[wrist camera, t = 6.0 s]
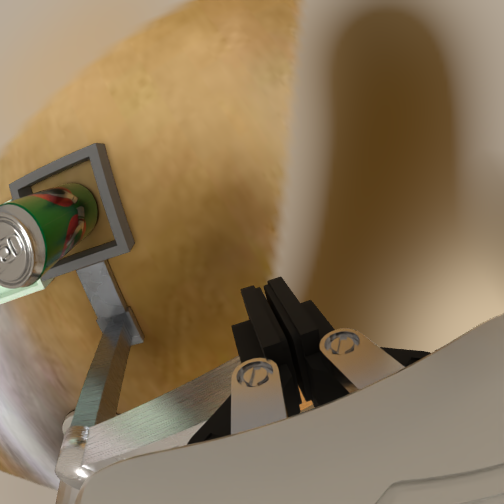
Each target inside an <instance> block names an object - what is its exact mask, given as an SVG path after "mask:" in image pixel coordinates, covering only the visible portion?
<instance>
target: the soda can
mask: <svg viewBox="0 0 504 504" xmlns="http://www.w3.org/2000/svg"><path fill="white" fill-rule="evenodd" d="M97 213H98V212H97V205H96V201H95V199H94V197H93V195H92V194H91V192H90V191H89V190H88V189H87V188H85V187H84V186H82V185H80V184H76V183H67V184H64V185H60V186H57V187H53V188H50V189H47V190H43V191H40V192H37V193H34V194H31V195H28V196H24V197H21V198H18V199H16V200H13V201H10V202H7V203H4V204H1V205H0V286H2V287H5V288H9V289H15V288H19V287H28V286H30V285H33V284H34V283H35V282H37V281H38V280H39V279H40V278H41V277H42V276H43V275H44V274H45V273H46V272H47V271H48V270H49V269H50V268H51V267H52V266H54V265H55V264H56V263H57V262H58V261H59V260H60V259H61V258H62V257H63V256H64V255H66V254H67V253H68V252H69V251H70V250H71V249H72V248H73V247H75V246H76V245H77V244H78V243H79V242H80V241H81V240H83V239H84V238H85V237H86V236H87V235H88V234H89V233H90V232H91V231H92V230H93V228H94V226H95V224H96V220H97Z"/></svg>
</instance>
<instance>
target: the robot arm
mask: <svg viewBox="0 0 504 504" xmlns="http://www.w3.org/2000/svg"><path fill="white" fill-rule="evenodd" d="M240 290H241V293H242V297H243V300H244V303H245V307H246V310H247V313H248V316H249V320H248V321H245V322H242V323H238V324H235V325H232V330H233V334H234V338H235V342H236V346H237V350H238V354H239V357H240V361H241V364H240V365H239V366H238V367H237V368H236V369H235V370H234V372H233V373H232V378H231V395H230V396H229V397H228V398H227V399H226V400H225V402H224V403H223V404H222V405H221V406H220V407H219V408H218V409H217V410H216V412H215V413H214V414H213V415H212V416H211V417H210V418H209V419H208V420H207V421H206V422H205V424H204V425H203V426H202V427H201V428H200V429H199V430H198V431H197V432H196V433H195V434H194V435H193V436H192V437H191V439H190V440H189V442H188V443H187V445H184V446H176V447H173V448H170V449H165V450H160V451H155V452H149V453H145V454H141V455H137V456H133V457H130V458H127V459H124V460H121V461H117V462H115V463H113V464H111V465H108V466H106V467H104V468H102V469H100V470H98V471H96V472H95V473H94V474H92V475H91V476H89V477H88V478H87V479H86V480H85V482H84V483H83V485H82V486H81V488H80V490H78V489H75V488H73V487H71V486H69V485H67V484H66V483H64V482H63V481H62V480H60V485H59V489H58V494H57V499H56V504H504V313H503V314H501V315H498V316H496V317H493V318H491V319H489V320H487V321H485V322H483V323H481V324H480V325H478V326H476V327H475V328H473V329H471V330H470V331H468V332H466V333H464V334H463V335H461V336H459V337H458V338H456V339H454V340H453V341H451V342H450V343H448V344H446V345H444V346H443V347H441V348H439V349H437V350H435V351H434V352H432V353H430V352H424V351H414V350H404V349H393V348H383V347H378V346H377V345H376V344H375V343H373V342H372V341H370V340H369V339H368V338H367V337H366V336H364V335H363V334H362V333H360V332H358V331H357V330H353V329H348V328H344V329H337V330H334V329H333V327H332V326H331V325H330V323H329V322H328V321H327V320H326V318H325V317H324V316H323V314H322V313H321V312H320V311H319V309H318V308H317V307H316V306H315V304H314V303H313V302H312V301H311V300H309V301H306V302H303V303H300V302H299V301H298V299H297V298H296V297H295V295H294V294H293V292H292V291H291V290H290V288H289V287H288V286H287V284H286V283H285V281H284V280H283V279H282V277H278V278H275V279H272V280H269V281H268V285H265V286H264V290H265V294H266V298H267V300H266V298H265V296H264V294H263V292H262V290H261V288H260V287H259V288H255V287H254V285H253V286H250V287H246V288H243V289H240ZM298 386H299V387H298ZM299 388H300V390H301V392H302V394H303V397H304V399H305V401H306V402H308V401H312V403H313V405H314V407H315V408H313V409H310V410H308V411H305V412H302V413H300V411H301V410H300V406H299V405H300V404H302V400H301V396H300V391H299ZM74 413H75V411H73V412H71V413H69V414H68V415H67V416H66V417H65V420H64V422H63V426H62V431H63V434H64V436H65V432H66V430H67V428H69V427H70V426H71V422H72V419H73V416H74ZM116 416H118V415H117V414H116ZM116 416H115V417H116Z"/></svg>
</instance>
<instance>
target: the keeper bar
mask: <svg viewBox="0 0 504 504" xmlns="http://www.w3.org/2000/svg"><path fill="white" fill-rule="evenodd" d="M240 364H241V361H240V357H239V356H237V357H235V358H233V359H232V360H230V361H228V362H226V363H224V364H222V365H221V366H219V367H217V368H215V369H213V370H211V371H209V372H207V373H205V374H204V375H202V376H200V377H198V378H196V379H194V380H192V381H190V382H188V383H186V384H184V385H182V386H180V387H178V388H176V389H174V390H172V391H170V392H168V393H166V394H164V395H162V396H160V397H158V398H156V399H153V400H151V401H149V402H147V403H145V404H143V405H141V406H138V407H136V408H134V409H132V410H130V411H127V412H125V413H123V414H121V415H118V416H116V417H114V418H111V419H109V420H107V421H104V422H102V423H99V424H97V425H95V426H92V427H90V428H89V427H85V426H71V427H69V428H67V430H66V432H65V436H64V439H63V442H62V446H61V449H60V453H59V457H58V460H57V464H56V468H55V473H56V475H57V476H58V478H59V479H60V480H62V481H63V482H64V483H66V484H67V485H69V486H71V487H73V488H75V489H78V490H80V488H81V486H82V485H83V483H84V482H85V480H86V479H87V478H88V477H89V476H91V475H92V474H94V473H95V472H96V471H98V470H100V469H102V468H104V467H106V466H108V465H111V464H113V463H115V462H117V461H121V460H124V459H127V458H130V457H133V456H137V455H141V454H145V453H149V452H155V451H160V450H165V449H170V448H173V447H176V446H184V445H187V443H188V442H189V440H190V439H191V437H192V436H193V435H194V434H195V433H196V432H197V431H198V430H199V429H200V428H201V427H202V426H203V425H204V424H205V422H206V421H207V420H208V419H209V418H210V417H211V416H212V415H213V414H214V413H215V412H216V410H217V409H218V408H219V407H220V406H221V405H222V404H223V403H224V402H225V400H226V399H227V398H228V397H229V396H230V395H231V378H232V373H233V372H234V370H235V369H236V368H237V367H238V366H239V365H240ZM298 387H299V386H298ZM299 391H300V396H301V400H302V404H300V405H299V406H300V410H303V409H305V408H307V407H309V406H310V405H312V404H313V403H312V401H308V402H306V401H305V399H304V397H303V394H302V392H301V390H300V388H299Z"/></svg>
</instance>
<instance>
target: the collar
mask: <svg viewBox="0 0 504 504" xmlns="http://www.w3.org/2000/svg"><path fill="white" fill-rule="evenodd" d="M89 159H90V161H91V165H92V169H93V172H94V176H95V179H96V183H97V186H98V189H99V192H100V196H101V199H102V202H103V205H104V208H105V211H106V214H107V217H108V220H109V223H110V226H111V229H112V232H113V235H114V238H115V240H114V241H111V242H108V243H106V244H103V245H100V246H97V247H94V248H91V249H88V250H85V251H83V252H80V253H77V254H74V255H72V256H69V257H66V258H63V259H61V260H59V261H58V262H57V263H56V264H55V265H54V266H52V267H51V268H50V269H49V270H48V271H47V272H46V273H45V274H44V275H43V276H42V277H41V278H42V280H43V281H45V280H48V279H50V278H53V277H56V276H59V275H62V274H65V273H68V272H71V271H73V270H76V269H79V268H82V267H85V266H88V265H91V264H94V263H97V262H100V261H103V260H106V259H109V258H112V257H115V256H118V255H121V254H124V253H128V252H130V250H131V249H132V247H133V245H134V244H135V242H134V239H133V237H132V234H131V231H130V228H129V225H128V222H127V219H126V216H125V213H124V210H123V207H122V204H121V201H120V197H119V194H118V191H117V188H116V184H115V181H114V177H113V174H112V170H111V167H110V163H109V160H108V156H107V152H106V149H105V145H104V144H100V143H95V144H92V145H90V146H87V147H85V148H82V149H80V150H78V151H76V152H73V153H71V154H69V155H66V156H64V157H62V158H60V159H58V160H56V161H54V162H51V163H49V164H47V165H45V166H43V167H41V168H39V169H37V170H35V171H33V172H31V173H29V174H27V175H25V176H24V177H22V178H20V179H18V180H16V181H14V182H13V183H11V184H9V188H10V191H11V195H12V198H13V200H16V199H18V198H21V197H24V196H28V195H31V194H32V190H31V187H30V186H32V185H34V184H36V183H38V182H40V181H42V180H44V179H46V178H48V177H50V176H53V175H55V174H57V173H59V172H61V171H64V170H66V169H68V168H70V167H73V166H75V165H77V164H80V163H82V162H84V161H87V160H89Z"/></svg>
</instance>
